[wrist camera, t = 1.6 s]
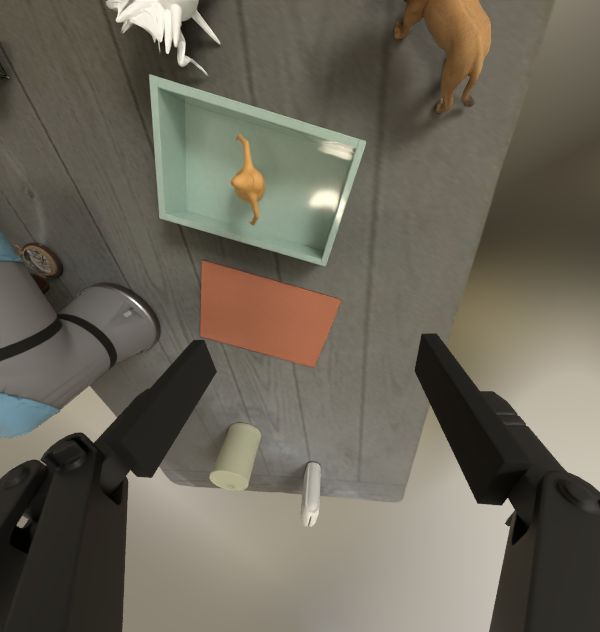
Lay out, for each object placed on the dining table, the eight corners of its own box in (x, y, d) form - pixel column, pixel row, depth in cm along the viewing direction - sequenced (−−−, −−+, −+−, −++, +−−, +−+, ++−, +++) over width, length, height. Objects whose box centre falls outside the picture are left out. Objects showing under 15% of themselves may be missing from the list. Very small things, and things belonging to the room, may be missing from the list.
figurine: (234, 149, 28) (178, 126, 18) (280, 144, 27) (250, 117, 17) (245, 219, 32) (206, 234, 22) (286, 217, 31) (265, 231, 21)
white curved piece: (316, 479, 68) (314, 533, 58) (303, 477, 69) (298, 530, 58) (322, 462, 63) (320, 518, 53) (307, 460, 63) (302, 514, 53)
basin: (182, 214, 33) (159, 218, 29) (179, 93, 26) (148, 73, 22) (326, 256, 34) (325, 266, 29) (360, 149, 27) (366, 141, 22)
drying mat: (201, 335, 45) (200, 336, 44) (202, 259, 36) (201, 260, 36) (314, 366, 45) (314, 367, 45) (341, 299, 37) (341, 300, 37)
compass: (62, 252, 39) (11, 264, 32) (65, 288, 43) (20, 305, 36) (14, 229, 38) (-49, 237, 31) (21, 268, 41) (-33, 282, 35)
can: (233, 442, 63) (215, 491, 53) (224, 422, 59) (202, 471, 48) (264, 443, 62) (251, 495, 51) (257, 423, 57) (241, 474, 47)
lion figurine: (355, 17, 22) (369, -78, 14) (398, -60, 19) (445, -226, 12) (448, 130, 25) (501, 104, 17) (496, 77, 23) (582, 19, 15)
